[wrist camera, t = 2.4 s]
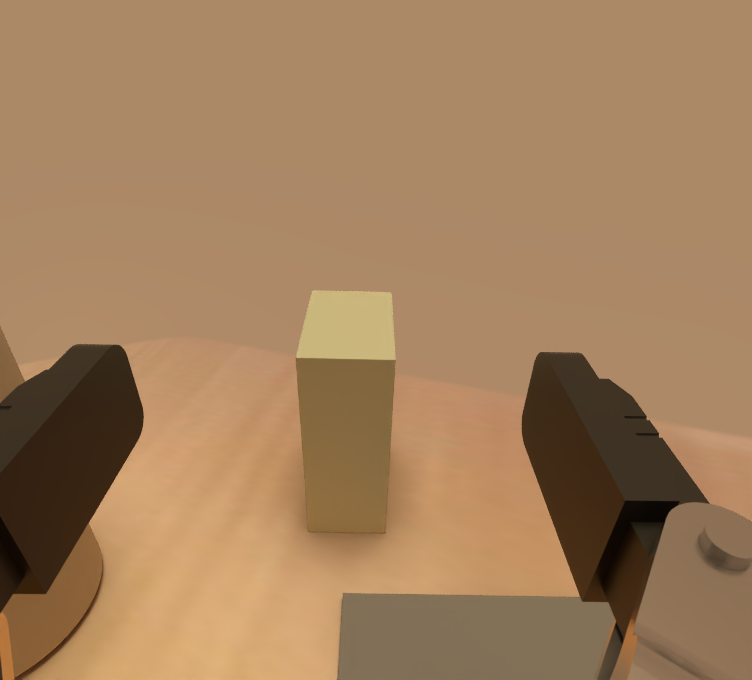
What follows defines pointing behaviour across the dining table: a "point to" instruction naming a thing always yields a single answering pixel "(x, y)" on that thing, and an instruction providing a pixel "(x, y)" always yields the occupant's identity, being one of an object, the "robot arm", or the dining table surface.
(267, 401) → the dining table surface
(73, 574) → the travel mug
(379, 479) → the tall tan pillar block
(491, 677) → the rubber mat
